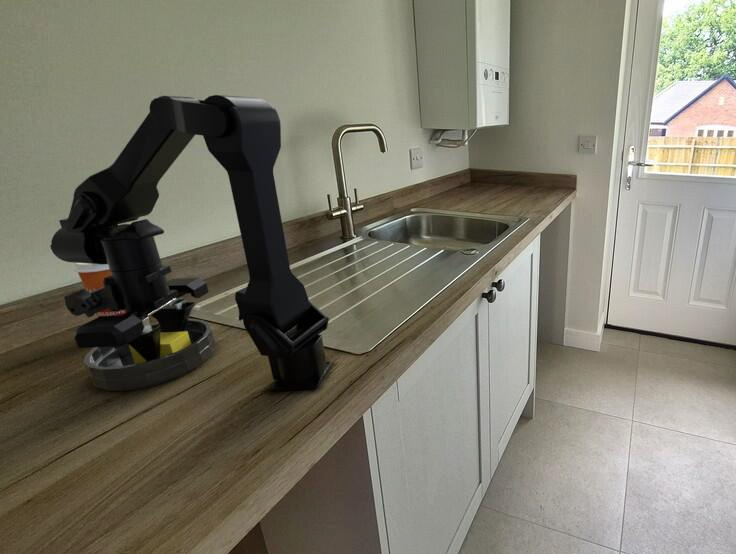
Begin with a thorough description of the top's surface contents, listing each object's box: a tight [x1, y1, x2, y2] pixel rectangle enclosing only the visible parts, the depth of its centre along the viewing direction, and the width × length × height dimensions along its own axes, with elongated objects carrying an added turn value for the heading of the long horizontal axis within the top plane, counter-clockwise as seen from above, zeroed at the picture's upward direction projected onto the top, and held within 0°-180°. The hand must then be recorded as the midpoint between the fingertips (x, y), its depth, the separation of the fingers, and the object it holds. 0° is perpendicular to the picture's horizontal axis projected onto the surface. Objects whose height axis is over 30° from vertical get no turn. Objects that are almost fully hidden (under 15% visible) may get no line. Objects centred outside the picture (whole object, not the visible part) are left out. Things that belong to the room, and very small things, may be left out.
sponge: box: [129, 331, 191, 364], centre depth 65 cm, size 6×4×4 cm, turn 94°
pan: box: [83, 318, 217, 392], centre depth 65 cm, size 15×15×4 cm
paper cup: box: [73, 263, 127, 318], centre depth 75 cm, size 8×8×14 cm
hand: (165, 356), depth 65 cm, fingers closed on sponge, 4 cm apart
